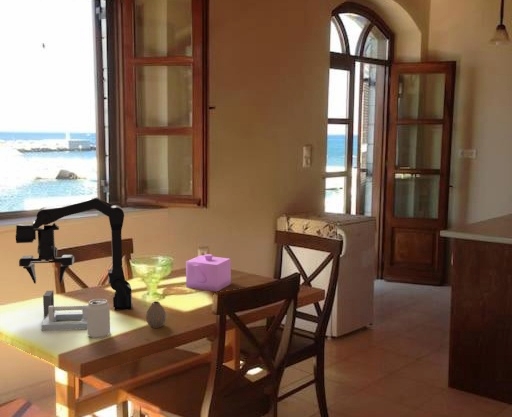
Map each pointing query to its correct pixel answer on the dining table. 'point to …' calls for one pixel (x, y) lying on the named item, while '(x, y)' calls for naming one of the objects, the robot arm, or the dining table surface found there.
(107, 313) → the can
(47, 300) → the tall grey upright block
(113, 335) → the dining table surface
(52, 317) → the square frame
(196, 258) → the pink knobbed box
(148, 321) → the vase
